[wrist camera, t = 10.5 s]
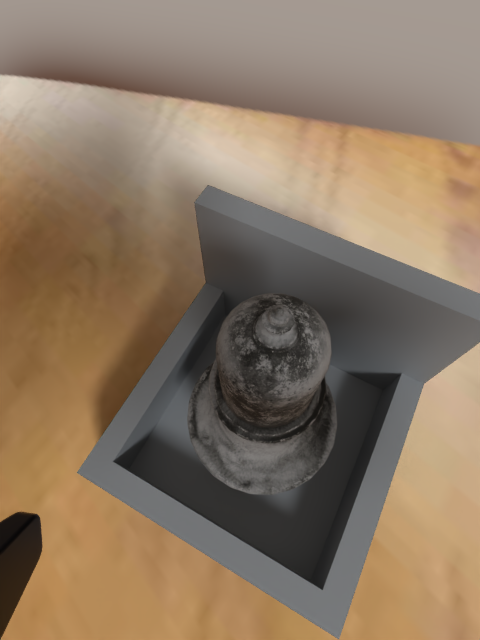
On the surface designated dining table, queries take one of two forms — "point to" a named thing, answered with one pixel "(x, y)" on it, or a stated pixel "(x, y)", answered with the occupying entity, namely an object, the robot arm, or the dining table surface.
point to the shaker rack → (342, 378)
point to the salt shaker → (266, 397)
